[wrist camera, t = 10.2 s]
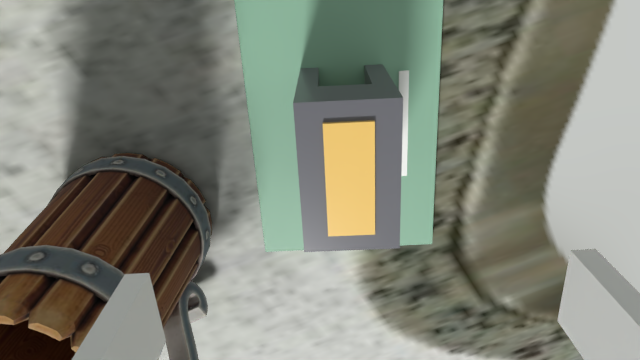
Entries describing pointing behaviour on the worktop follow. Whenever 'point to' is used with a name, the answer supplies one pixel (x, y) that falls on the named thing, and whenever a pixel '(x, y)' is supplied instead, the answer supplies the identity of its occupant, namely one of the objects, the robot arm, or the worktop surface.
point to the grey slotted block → (349, 161)
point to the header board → (336, 69)
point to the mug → (105, 257)
